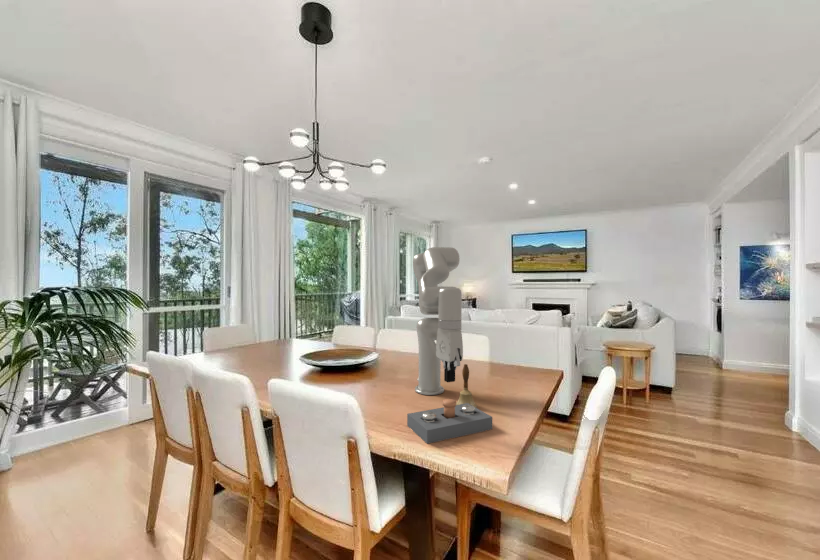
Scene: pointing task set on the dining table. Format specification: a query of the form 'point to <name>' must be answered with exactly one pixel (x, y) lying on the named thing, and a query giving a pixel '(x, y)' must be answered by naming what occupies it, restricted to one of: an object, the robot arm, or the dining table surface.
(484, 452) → the dining table surface
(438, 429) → the panel
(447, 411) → the peach grooved knob
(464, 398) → the hand bell
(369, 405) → the dining table surface
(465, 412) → the silver rounded piece
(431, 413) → the ball
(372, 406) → the dining table surface
